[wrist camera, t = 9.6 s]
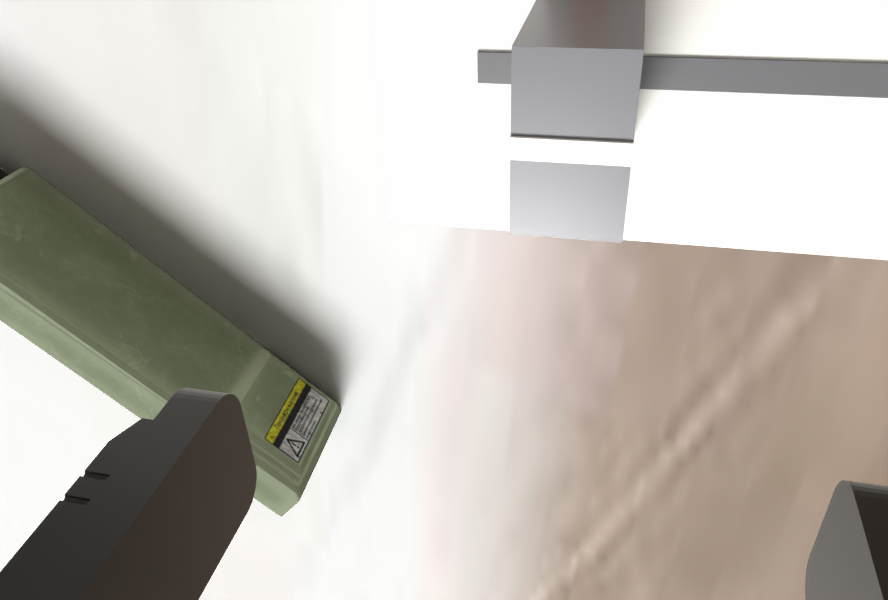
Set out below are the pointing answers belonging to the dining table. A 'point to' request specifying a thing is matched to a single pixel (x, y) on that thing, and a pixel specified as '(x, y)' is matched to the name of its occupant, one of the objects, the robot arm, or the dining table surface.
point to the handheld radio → (148, 332)
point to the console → (661, 121)
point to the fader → (574, 117)
